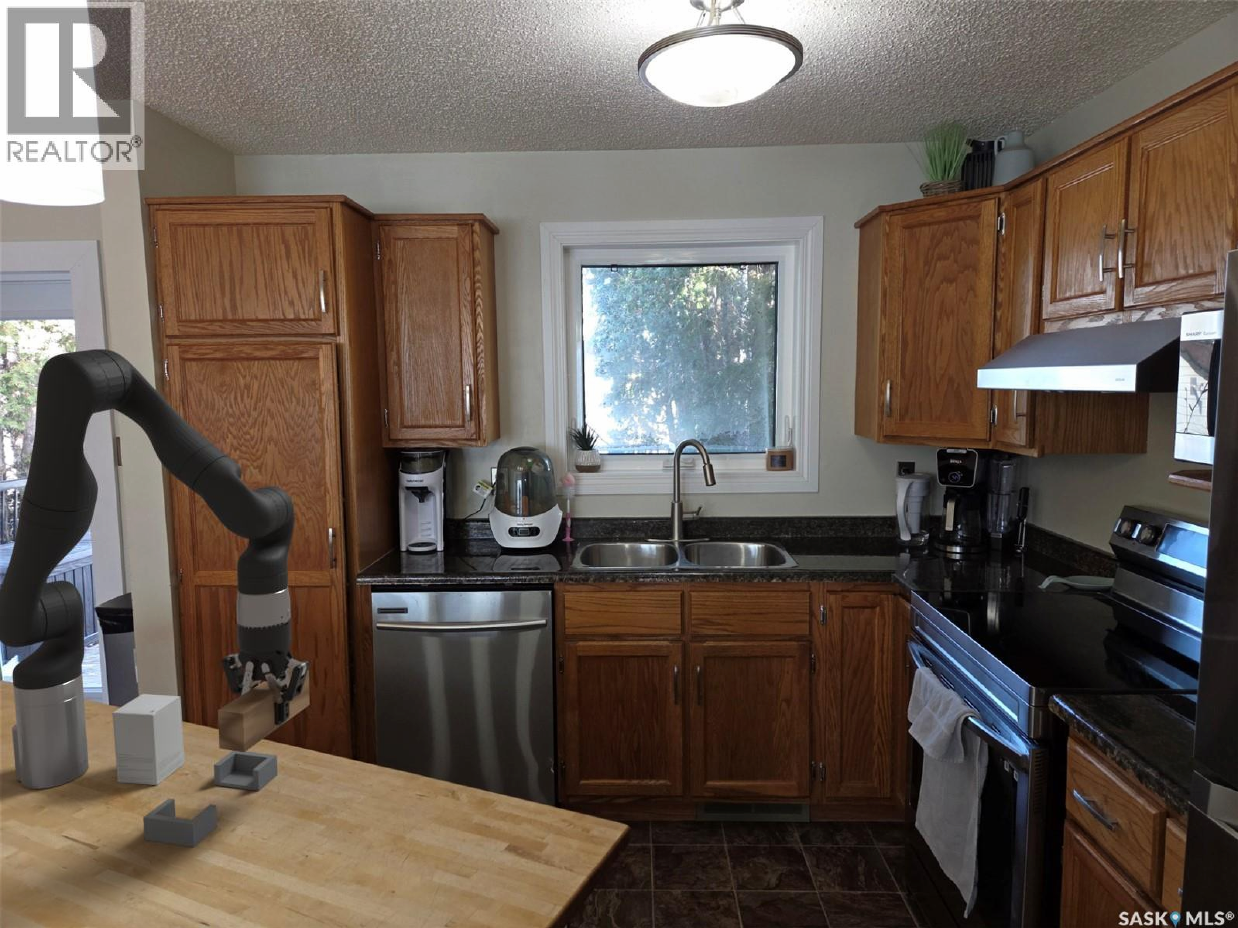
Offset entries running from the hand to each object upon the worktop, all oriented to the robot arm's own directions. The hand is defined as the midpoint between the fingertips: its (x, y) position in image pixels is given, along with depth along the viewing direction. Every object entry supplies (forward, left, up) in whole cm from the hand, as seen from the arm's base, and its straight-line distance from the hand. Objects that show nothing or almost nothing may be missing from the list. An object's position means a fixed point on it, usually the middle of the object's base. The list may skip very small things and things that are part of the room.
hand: (267, 720), depth 119 cm
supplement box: (-26, +5, -15) cm, 30 cm away
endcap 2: (-9, +6, -15) cm, 18 cm away
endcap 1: (-9, -9, -15) cm, 19 cm away
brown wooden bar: (0, 0, -1) cm, 1 cm away
